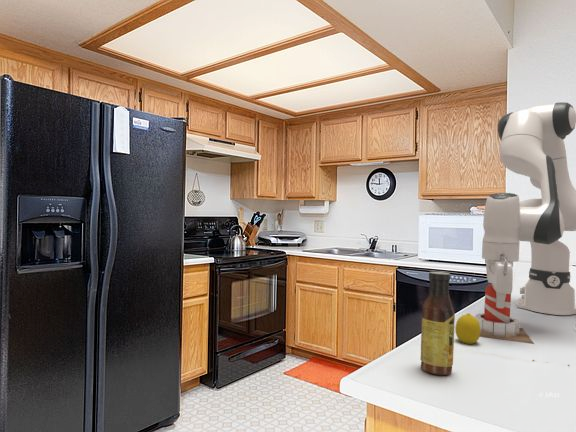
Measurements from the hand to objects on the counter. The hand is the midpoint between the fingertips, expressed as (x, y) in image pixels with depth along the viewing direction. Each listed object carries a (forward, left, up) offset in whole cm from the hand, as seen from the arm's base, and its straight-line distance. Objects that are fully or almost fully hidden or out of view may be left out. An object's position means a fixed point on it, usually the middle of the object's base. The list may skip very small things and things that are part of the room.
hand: (497, 304), depth 109 cm
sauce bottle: (+34, -15, -8) cm, 38 cm away
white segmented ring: (0, 0, -7) cm, 7 cm away
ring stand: (0, 0, -8) cm, 8 cm away
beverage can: (0, 0, -7) cm, 7 cm away
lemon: (+14, -8, -8) cm, 18 cm away
